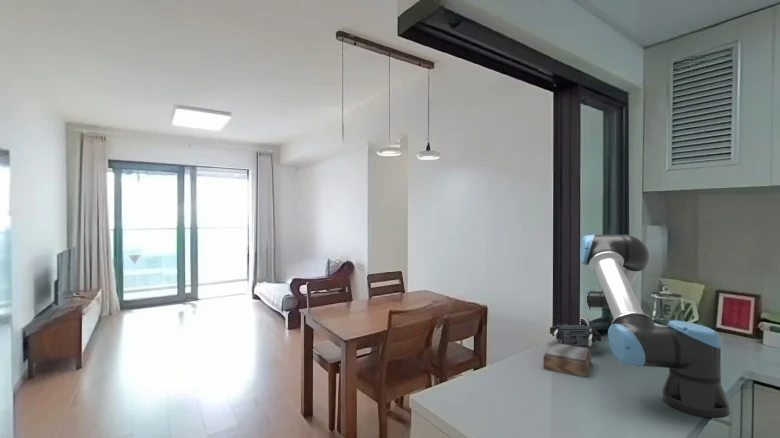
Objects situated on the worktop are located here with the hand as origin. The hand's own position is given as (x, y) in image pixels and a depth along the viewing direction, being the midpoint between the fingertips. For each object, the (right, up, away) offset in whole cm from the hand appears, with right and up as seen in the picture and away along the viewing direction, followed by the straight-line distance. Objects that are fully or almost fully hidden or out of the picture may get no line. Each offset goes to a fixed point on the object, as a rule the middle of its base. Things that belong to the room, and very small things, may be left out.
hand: (572, 339), depth 145 cm
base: (-7, -6, -10) cm, 14 cm away
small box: (+2, -6, +3) cm, 7 cm away
